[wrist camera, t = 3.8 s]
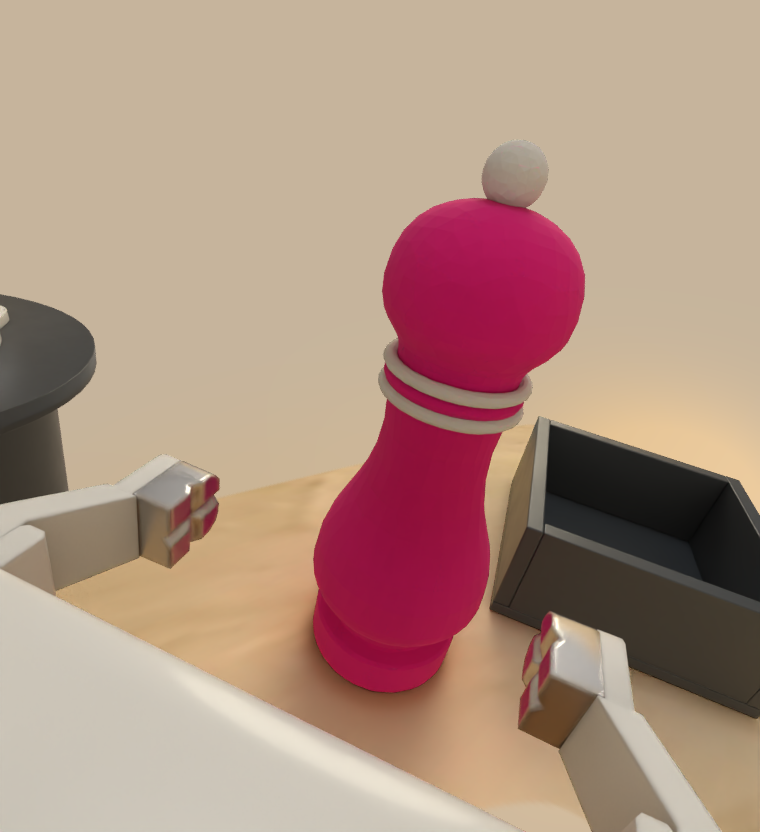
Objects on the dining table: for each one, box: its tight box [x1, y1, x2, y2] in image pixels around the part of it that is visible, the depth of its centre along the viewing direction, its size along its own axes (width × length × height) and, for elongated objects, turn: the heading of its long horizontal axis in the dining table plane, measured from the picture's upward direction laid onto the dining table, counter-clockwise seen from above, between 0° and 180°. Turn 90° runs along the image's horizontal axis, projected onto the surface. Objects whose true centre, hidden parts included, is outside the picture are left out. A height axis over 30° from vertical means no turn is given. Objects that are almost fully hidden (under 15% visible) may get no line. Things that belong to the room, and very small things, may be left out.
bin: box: [490, 416, 760, 719], centre depth 28 cm, size 13×13×6 cm
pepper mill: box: [313, 140, 585, 692], centre depth 18 cm, size 7×7×20 cm
